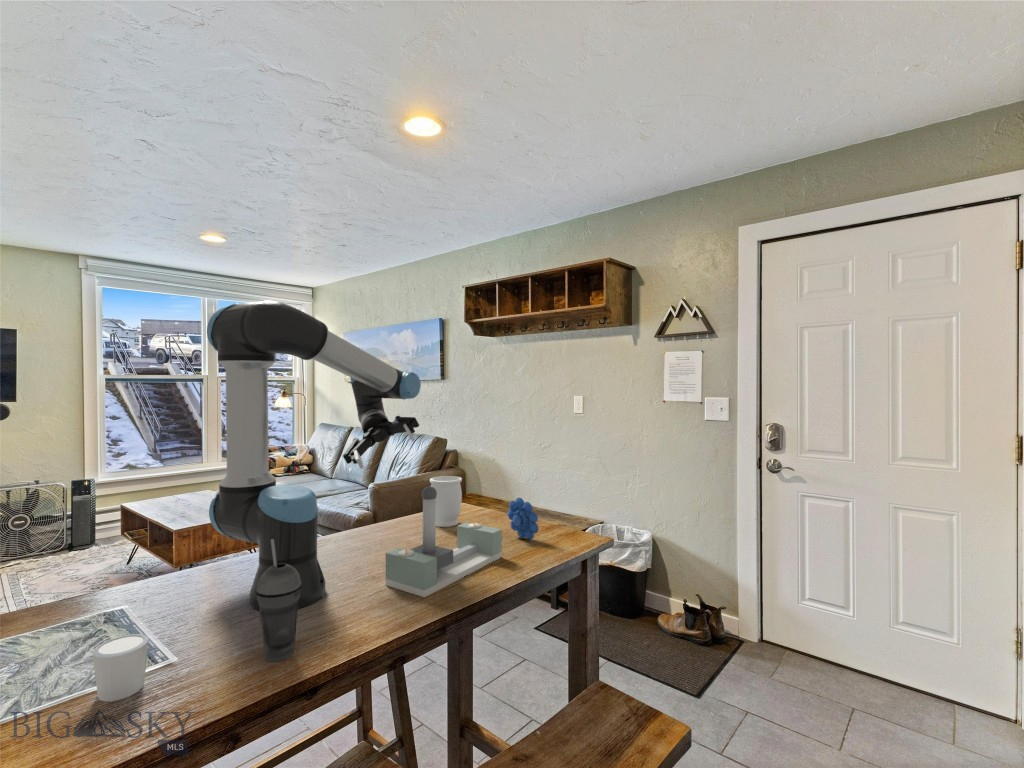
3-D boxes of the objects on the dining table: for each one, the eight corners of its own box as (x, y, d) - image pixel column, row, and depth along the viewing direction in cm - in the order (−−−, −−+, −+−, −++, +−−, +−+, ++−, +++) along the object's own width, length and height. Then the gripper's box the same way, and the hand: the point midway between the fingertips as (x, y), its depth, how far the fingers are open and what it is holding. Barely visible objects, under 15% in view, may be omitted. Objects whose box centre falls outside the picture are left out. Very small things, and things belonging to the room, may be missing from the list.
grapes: (498, 537, 153) (498, 497, 153) (513, 532, 158) (513, 494, 158) (528, 546, 146) (528, 504, 146) (543, 540, 151) (543, 500, 151)
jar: (450, 517, 175) (450, 474, 175) (468, 524, 167) (468, 478, 167) (423, 523, 168) (423, 477, 168) (440, 530, 160) (440, 482, 160)
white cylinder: (90, 710, 73) (90, 661, 73) (94, 686, 79) (94, 641, 79) (149, 693, 77) (149, 647, 77) (148, 672, 83) (148, 629, 83)
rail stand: (424, 597, 111) (424, 560, 111) (385, 585, 118) (385, 550, 118) (501, 557, 136) (501, 527, 136) (466, 549, 143) (466, 520, 143)
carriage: (433, 571, 116) (433, 491, 116) (404, 564, 121) (404, 486, 121) (453, 562, 122) (453, 486, 122) (425, 555, 127) (425, 481, 127)
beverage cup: (290, 667, 84) (290, 546, 84) (246, 666, 84) (246, 545, 84) (309, 644, 92) (308, 533, 91) (268, 643, 92) (268, 532, 92)
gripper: (421, 416, 147) (438, 437, 128) (340, 458, 142) (345, 488, 122) (410, 393, 145) (425, 412, 125) (327, 436, 139) (329, 462, 120)
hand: (385, 449), depth 124 cm, fingers open, 13 cm apart
